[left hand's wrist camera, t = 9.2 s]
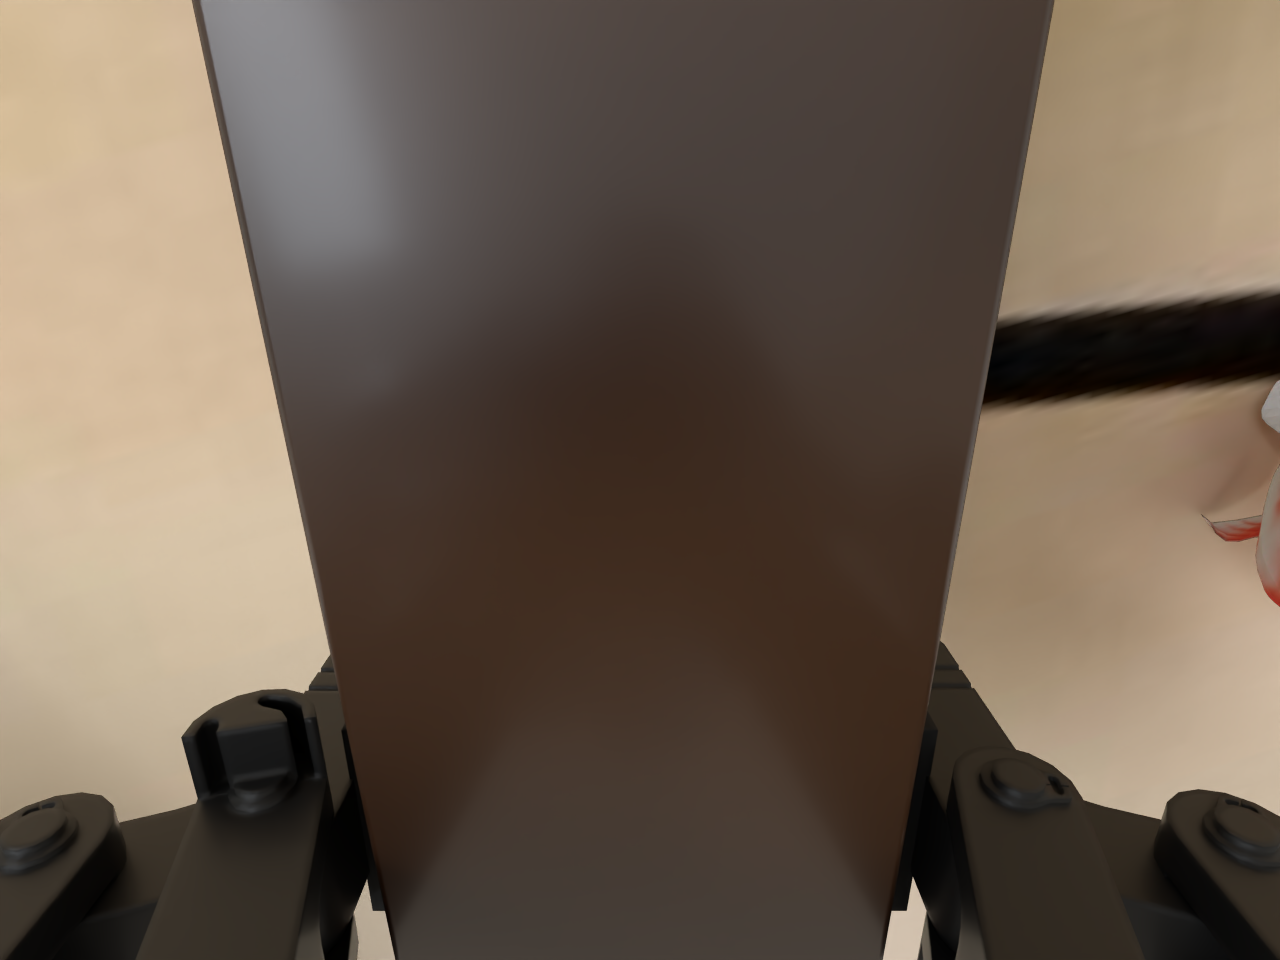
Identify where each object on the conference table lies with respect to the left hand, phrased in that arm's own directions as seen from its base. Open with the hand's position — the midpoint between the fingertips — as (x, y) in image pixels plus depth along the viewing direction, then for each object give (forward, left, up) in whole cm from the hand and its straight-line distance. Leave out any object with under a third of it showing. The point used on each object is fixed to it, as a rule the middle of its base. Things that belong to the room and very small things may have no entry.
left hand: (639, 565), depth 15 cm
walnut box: (+10, +6, 0) cm, 12 cm away
